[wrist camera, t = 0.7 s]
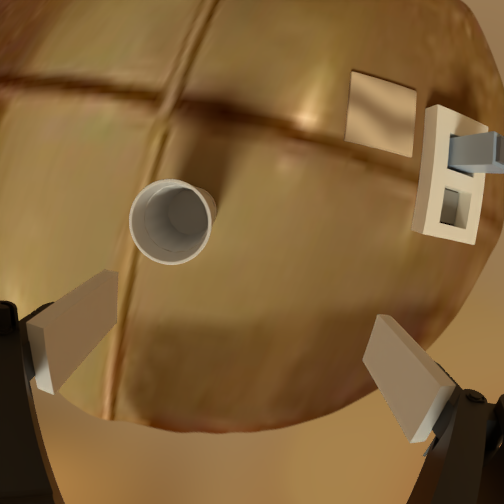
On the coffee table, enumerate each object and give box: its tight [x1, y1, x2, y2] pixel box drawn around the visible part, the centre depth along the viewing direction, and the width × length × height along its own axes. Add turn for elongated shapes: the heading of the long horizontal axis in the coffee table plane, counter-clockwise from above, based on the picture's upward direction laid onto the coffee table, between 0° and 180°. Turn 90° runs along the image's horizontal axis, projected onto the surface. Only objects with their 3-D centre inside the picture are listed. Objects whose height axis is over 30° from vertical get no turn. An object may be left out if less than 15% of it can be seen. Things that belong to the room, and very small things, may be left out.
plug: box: [447, 131, 504, 173], centre depth 32 cm, size 4×4×13 cm
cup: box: [129, 179, 217, 265], centre depth 34 cm, size 8×8×12 cm
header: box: [411, 104, 488, 245], centre depth 37 cm, size 18×10×4 cm, turn 172°
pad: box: [344, 71, 416, 157], centre depth 37 cm, size 10×10×1 cm
